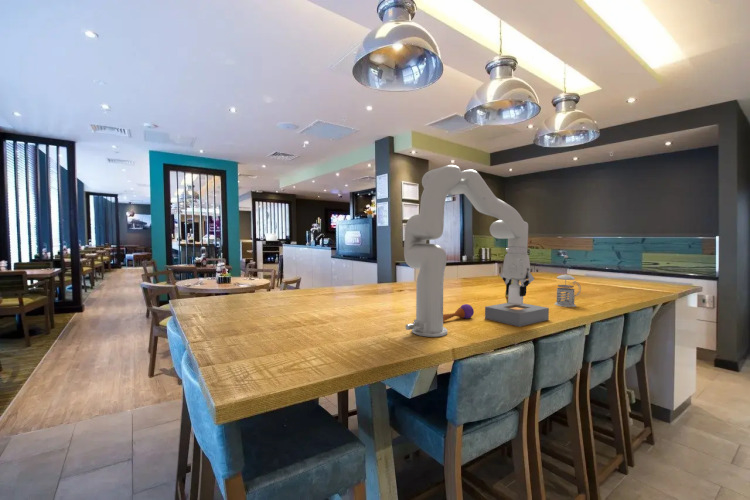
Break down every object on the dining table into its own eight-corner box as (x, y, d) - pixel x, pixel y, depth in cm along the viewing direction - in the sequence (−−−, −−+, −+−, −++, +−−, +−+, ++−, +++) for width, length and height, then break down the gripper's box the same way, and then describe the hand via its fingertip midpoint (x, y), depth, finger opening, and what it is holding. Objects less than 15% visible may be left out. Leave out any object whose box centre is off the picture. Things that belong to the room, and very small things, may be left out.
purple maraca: (430, 312, 138) (464, 303, 149) (433, 326, 138) (467, 316, 149) (440, 312, 133) (475, 302, 144) (443, 327, 133) (477, 317, 144)
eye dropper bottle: (516, 305, 138) (518, 276, 138) (506, 303, 143) (507, 274, 143) (524, 305, 140) (526, 276, 140) (514, 302, 145) (515, 274, 145)
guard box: (519, 326, 130) (519, 313, 130) (484, 318, 144) (485, 306, 143) (548, 319, 141) (548, 307, 141) (514, 312, 155) (514, 301, 154)
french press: (559, 302, 180) (560, 254, 179) (583, 305, 171) (584, 255, 170) (550, 304, 174) (551, 255, 173) (575, 308, 165) (577, 256, 164)
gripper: (494, 250, 146) (492, 292, 147) (531, 252, 132) (529, 298, 132) (504, 250, 150) (503, 291, 151) (542, 252, 136) (540, 297, 137)
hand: (515, 294), depth 142 cm, fingers closed on eye dropper bottle, 5 cm apart
